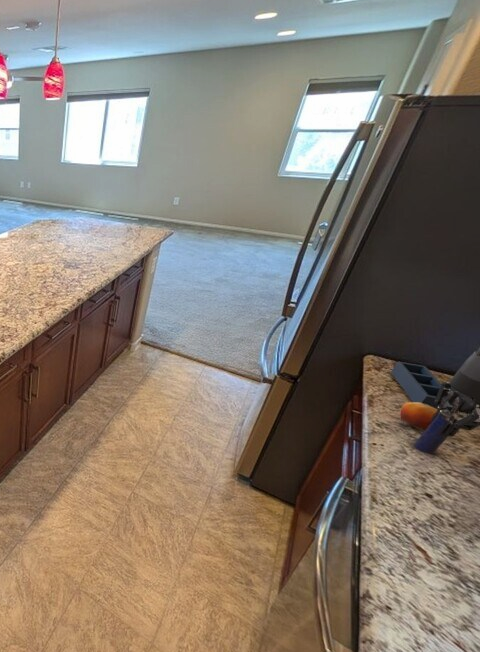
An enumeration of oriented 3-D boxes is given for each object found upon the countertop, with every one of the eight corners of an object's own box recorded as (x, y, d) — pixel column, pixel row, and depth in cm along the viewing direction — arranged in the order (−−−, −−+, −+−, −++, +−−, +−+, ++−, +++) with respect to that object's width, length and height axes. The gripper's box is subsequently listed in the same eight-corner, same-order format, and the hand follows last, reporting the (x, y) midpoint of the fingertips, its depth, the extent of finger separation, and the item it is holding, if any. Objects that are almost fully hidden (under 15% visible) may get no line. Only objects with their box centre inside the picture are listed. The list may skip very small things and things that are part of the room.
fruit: (396, 423, 105) (411, 398, 104) (390, 422, 111) (405, 397, 110) (439, 440, 100) (455, 413, 99) (431, 437, 106) (446, 412, 105)
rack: (417, 377, 124) (425, 366, 121) (448, 414, 110) (458, 402, 107) (390, 372, 126) (397, 361, 124) (417, 407, 112) (426, 396, 110)
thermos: (429, 445, 100) (458, 411, 94) (437, 456, 97) (467, 422, 91) (410, 441, 102) (437, 407, 96) (417, 451, 99) (445, 417, 93)
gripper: (531, 398, 80) (478, 454, 89) (488, 361, 91) (445, 414, 100) (481, 389, 83) (434, 444, 92) (445, 354, 94) (406, 406, 103)
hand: (440, 428), depth 96 cm, fingers closed on thermos, 3 cm apart
